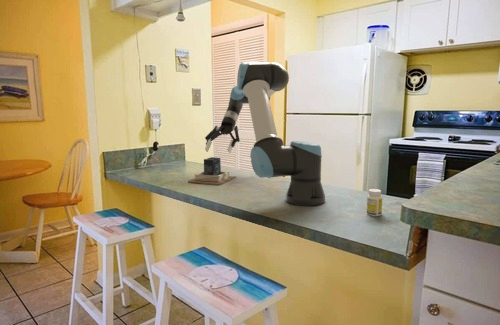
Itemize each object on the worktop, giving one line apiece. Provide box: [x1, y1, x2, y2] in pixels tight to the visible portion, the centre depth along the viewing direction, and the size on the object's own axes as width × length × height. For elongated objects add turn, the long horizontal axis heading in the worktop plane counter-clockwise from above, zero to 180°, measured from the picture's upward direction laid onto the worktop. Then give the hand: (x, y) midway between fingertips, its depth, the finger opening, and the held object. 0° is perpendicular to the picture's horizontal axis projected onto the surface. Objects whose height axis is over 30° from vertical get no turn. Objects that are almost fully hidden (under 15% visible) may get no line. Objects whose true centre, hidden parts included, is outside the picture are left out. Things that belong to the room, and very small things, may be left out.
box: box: [203, 156, 222, 176], centre depth 170 cm, size 8×6×11 cm
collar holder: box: [187, 171, 237, 186], centre depth 171 cm, size 18×18×4 cm
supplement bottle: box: [366, 188, 383, 217], centre depth 113 cm, size 5×5×8 cm
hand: (217, 150), depth 175 cm, fingers open, 13 cm apart
